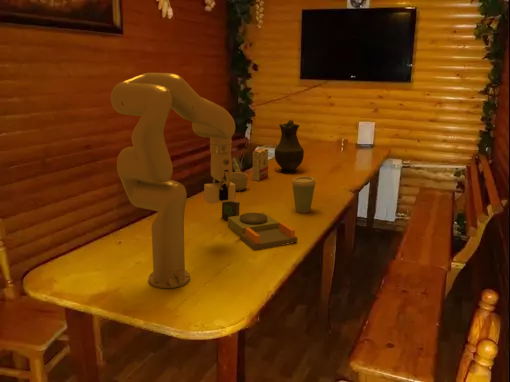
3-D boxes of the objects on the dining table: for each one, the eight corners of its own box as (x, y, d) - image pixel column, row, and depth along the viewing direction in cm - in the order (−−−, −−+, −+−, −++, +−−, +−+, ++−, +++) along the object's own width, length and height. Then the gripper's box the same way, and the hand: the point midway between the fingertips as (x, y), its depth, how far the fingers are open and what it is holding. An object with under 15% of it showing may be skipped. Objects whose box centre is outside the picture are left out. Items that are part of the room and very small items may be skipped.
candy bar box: (260, 176, 273) (260, 148, 268) (268, 177, 271) (268, 148, 266) (251, 180, 263) (252, 151, 259) (259, 181, 261) (260, 152, 257)
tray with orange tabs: (297, 242, 177) (297, 229, 175) (254, 250, 169) (254, 236, 168) (265, 220, 199) (265, 209, 198) (225, 226, 191) (225, 214, 190)
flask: (240, 221, 198) (240, 197, 195) (235, 223, 196) (236, 198, 193) (224, 216, 203) (224, 192, 201) (219, 218, 201) (219, 194, 198)
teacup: (251, 188, 247) (251, 174, 244) (239, 193, 238) (239, 178, 235) (229, 184, 254) (229, 170, 251) (217, 189, 245) (217, 174, 243)
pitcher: (272, 174, 278) (273, 123, 270) (276, 166, 298) (278, 118, 289) (301, 175, 275) (304, 124, 267) (304, 168, 295) (306, 119, 287)
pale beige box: (236, 200, 172) (236, 184, 170) (210, 204, 167) (209, 187, 165) (230, 196, 176) (230, 181, 174) (204, 200, 171) (204, 184, 169)
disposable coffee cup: (304, 215, 207) (306, 182, 202) (285, 210, 214) (286, 178, 209) (318, 210, 214) (320, 178, 210) (299, 205, 221) (301, 174, 217)
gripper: (240, 152, 160) (239, 203, 165) (221, 143, 175) (221, 190, 180) (220, 153, 157) (219, 205, 162) (202, 144, 172) (202, 192, 177)
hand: (220, 197), depth 171 cm, fingers closed on pale beige box, 5 cm apart
